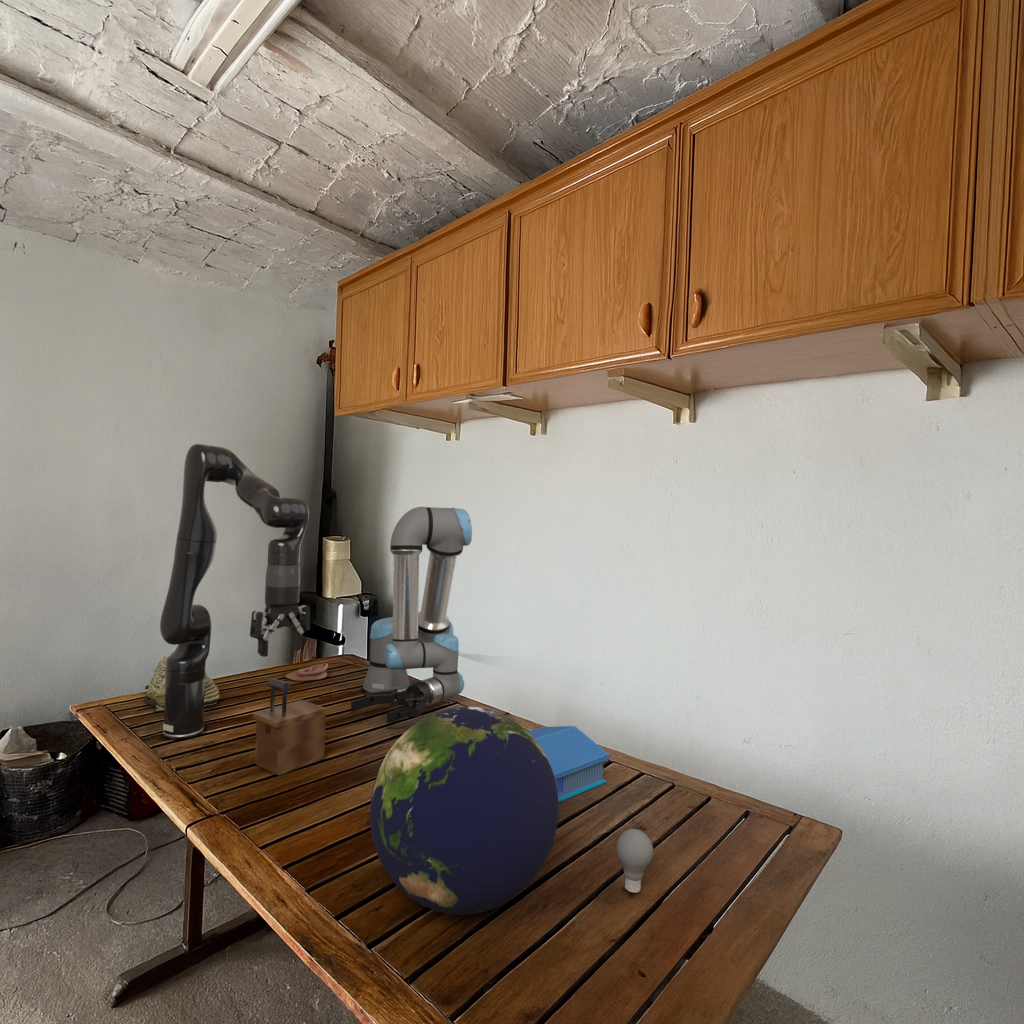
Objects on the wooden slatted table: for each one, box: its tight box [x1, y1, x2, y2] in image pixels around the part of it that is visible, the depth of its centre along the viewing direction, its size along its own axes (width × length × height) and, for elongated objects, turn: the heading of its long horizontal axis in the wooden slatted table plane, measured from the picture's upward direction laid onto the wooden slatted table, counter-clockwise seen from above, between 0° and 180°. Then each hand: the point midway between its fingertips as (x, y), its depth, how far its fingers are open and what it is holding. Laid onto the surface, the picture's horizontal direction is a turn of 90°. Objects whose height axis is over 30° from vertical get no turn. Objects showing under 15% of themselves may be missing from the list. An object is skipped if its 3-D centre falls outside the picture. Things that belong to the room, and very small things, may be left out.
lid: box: [252, 677, 327, 728], centre depth 150 cm, size 13×10×9 cm
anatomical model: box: [284, 662, 329, 682], centre depth 220 cm, size 13×4×12 cm
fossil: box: [146, 654, 221, 712], centre depth 185 cm, size 9×18×15 cm, turn 132°
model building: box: [526, 725, 610, 803], centre depth 140 cm, size 39×24×10 cm, turn 132°
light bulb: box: [615, 828, 654, 894], centre depth 106 cm, size 6×6×10 cm
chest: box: [254, 713, 327, 776], centre depth 150 cm, size 12×10×11 cm
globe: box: [369, 706, 560, 916], centre depth 102 cm, size 30×30×30 cm
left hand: (280, 652), depth 147 cm, fingers open, 8 cm apart
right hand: (369, 712), depth 168 cm, fingers open, 13 cm apart
